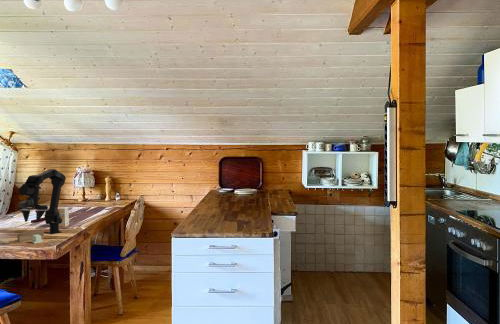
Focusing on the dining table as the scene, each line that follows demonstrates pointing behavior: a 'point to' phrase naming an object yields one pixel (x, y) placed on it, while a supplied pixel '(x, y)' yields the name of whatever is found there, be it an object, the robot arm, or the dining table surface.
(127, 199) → the dining table surface
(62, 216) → the supplement box
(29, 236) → the brown rectangular block
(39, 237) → the fulcrum
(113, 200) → the dining table surface
